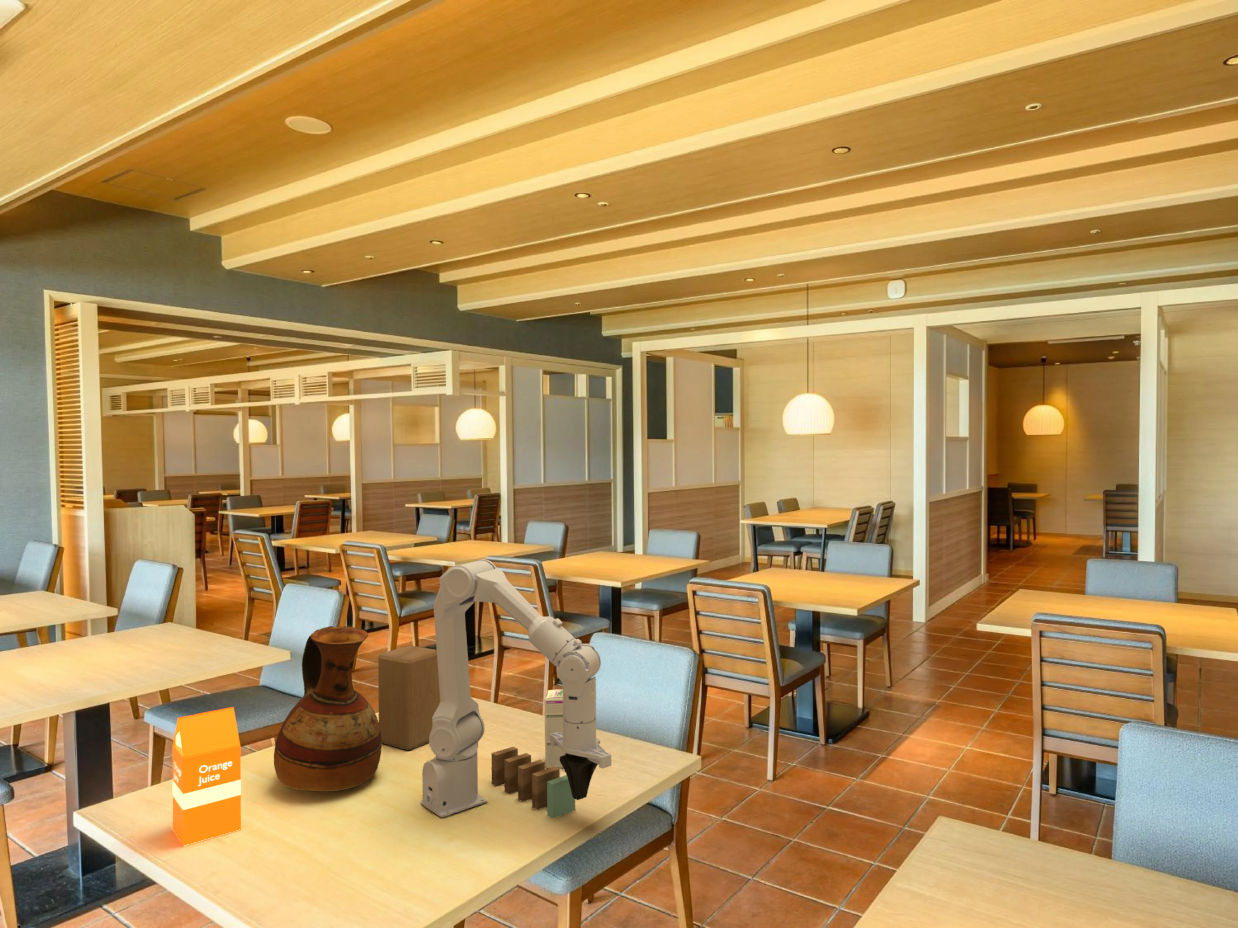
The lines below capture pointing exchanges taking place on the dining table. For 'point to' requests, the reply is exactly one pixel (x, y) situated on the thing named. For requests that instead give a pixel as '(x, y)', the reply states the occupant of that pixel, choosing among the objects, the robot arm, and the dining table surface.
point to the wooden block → (407, 695)
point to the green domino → (559, 797)
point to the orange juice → (206, 776)
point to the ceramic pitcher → (329, 720)
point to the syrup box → (553, 726)
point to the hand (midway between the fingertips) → (579, 797)
